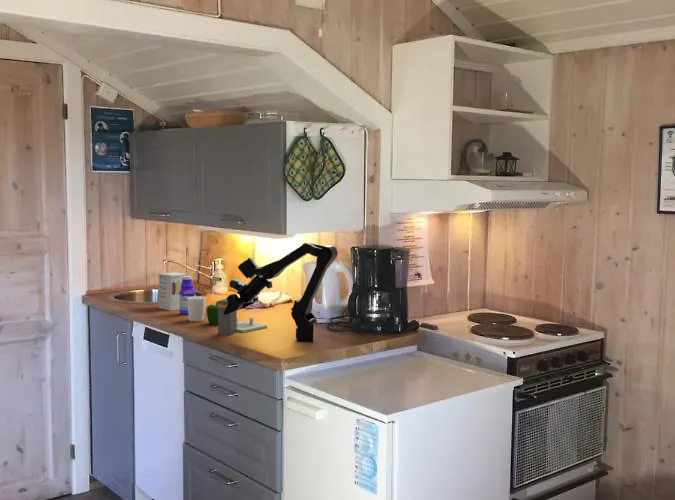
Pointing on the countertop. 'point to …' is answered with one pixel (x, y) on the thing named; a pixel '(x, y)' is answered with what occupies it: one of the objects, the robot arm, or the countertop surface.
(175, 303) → the supplement box
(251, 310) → the countertop surface
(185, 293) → the bottle
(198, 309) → the white cup
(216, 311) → the bell pepper
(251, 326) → the board
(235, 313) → the plug block
